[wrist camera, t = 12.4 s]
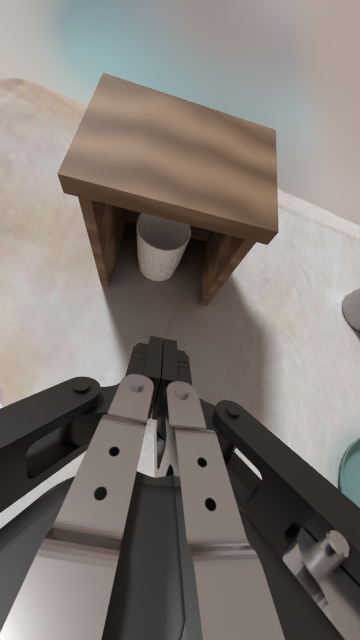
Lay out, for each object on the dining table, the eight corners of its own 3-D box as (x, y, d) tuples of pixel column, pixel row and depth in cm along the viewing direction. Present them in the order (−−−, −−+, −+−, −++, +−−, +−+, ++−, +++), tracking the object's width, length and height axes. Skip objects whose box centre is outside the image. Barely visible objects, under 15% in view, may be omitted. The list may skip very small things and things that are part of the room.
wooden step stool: (212, 307, 41) (278, 232, 23) (93, 282, 38) (57, 173, 20) (218, 236, 47) (275, 130, 28) (115, 210, 44) (103, 72, 26)
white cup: (186, 269, 43) (202, 233, 34) (155, 293, 40) (162, 260, 31) (158, 240, 44) (166, 197, 35) (126, 261, 41) (124, 221, 32)
